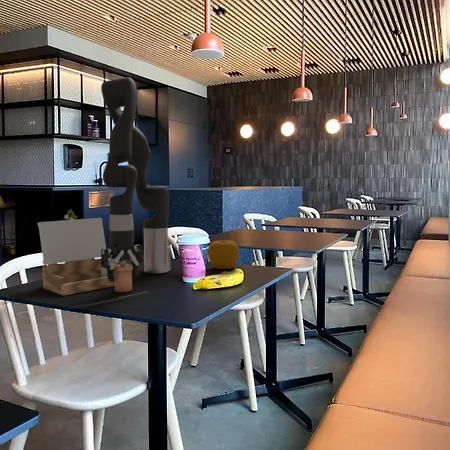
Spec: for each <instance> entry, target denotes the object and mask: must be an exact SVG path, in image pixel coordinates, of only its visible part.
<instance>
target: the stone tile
mask: <svg viewBox="0 0 450 450" xmlns="http://www.w3.org/2000/svg"><path fill="white" fill-rule="evenodd" d="M145 293H148V291H143V292H136V293H133V294H127V295H123V296H118V297H116V299H121V298H125V297H131V296H137V295H141V294H145Z"/></svg>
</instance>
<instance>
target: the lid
mask: <svg viewBox="0 0 450 450" xmlns="http://www.w3.org/2000/svg"><path fill="white" fill-rule="evenodd" d="M37 227H38V230H39V232H38V233H39V237H40V239H39V240H40V247H41V253H42V264H43V266H48V264H55V263H57V264H63V263H65V262H70V261H77V260H84V259H92V258H95V259H100V258H101V249H103V248H104V249H107V245H106V238H105V232H104V225H103V218H102V217H94V218H93V217H92V218H80V219H78V218H77V219H76V220H68V219H65V220H64V219H63V220H55V221H54V220H53V221H51V220H50V221H40V222H39V221H38V222H37Z"/></svg>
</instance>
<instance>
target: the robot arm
mask: <svg viewBox="0 0 450 450" xmlns="http://www.w3.org/2000/svg"><path fill="white" fill-rule="evenodd" d="M100 87H101V88H100V91H101V95H102V99H103V102H104V104H105V106H106V109H107V112H108V113H109V116H110V118H111V120H112V122H113V125H114V126H113V127H112V130H111V132H110V135H109V145H108V146H109V151H108V158H107V161H106V165H105V166H104V169H103V173H102V181H103V183H104V185H105V186H106V187H107V188H111V189H117V188H121V189H122V188H125V191H124V192H123V193H121V194H117V195H113V196H111V197H110V198H109V214H110V215H109V224H108V225H109V244H110V247H109V248H106V249H104V248H103V249H101V257H100V258H101V267H103V268H106V269H107V278H108V279H109V281H114V269H113V268H114V266H115V265H118V264H119V261H123V260H126V261H129V263H131V265H133V270H132V278H137V277H138V275H139V264H142V263H144V264H143V266H144V268H143V269H144V272H145V273H149V274H163V273H164V274H165V273H168V272H169V271H171V246H169V234H168V233H169V230H168V229H169V228H168V227H169V225H168V223H169V218H170V214H169V213H170V212H169V211H170V192H169V190H168V187H166V186H164V185H150V184H149V182H148V179H147V178H148V177H147V171H148V167H149V165H150V162H151V158H152V157H151V156H152V154H151V153H152V152H151V149H150V146H149V143H148V139H147V138H146V136H145V134H144V133H143V132H142V131H141V130H140V129H139V128H138V127H137V126H135V125H134V123H135V117H136V112H137V111H136V110H137V105H138V89H137V85H136V83H135V81H134V79H133V78H131V77H128V76H127V77H121V78H115V79H110V80H105V81H103V82H102V84H101V85H100ZM122 108H123V110H122ZM123 163H127V164H123ZM120 164H121V165H120ZM134 192H135V193H136V197H137V200H138V204H139V205H140V207H141V208H142V209H143V210H150V211H154V214H153V216H151V217H150V218H146V219H144V220H143V244H134V242H135V228H134V227H135V226H134V225H135V224H134V223H135V222H134V216H133V197H134ZM134 252H135V254H133V253H134ZM109 256H110V257H109ZM108 261H109V262H108Z"/></svg>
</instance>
